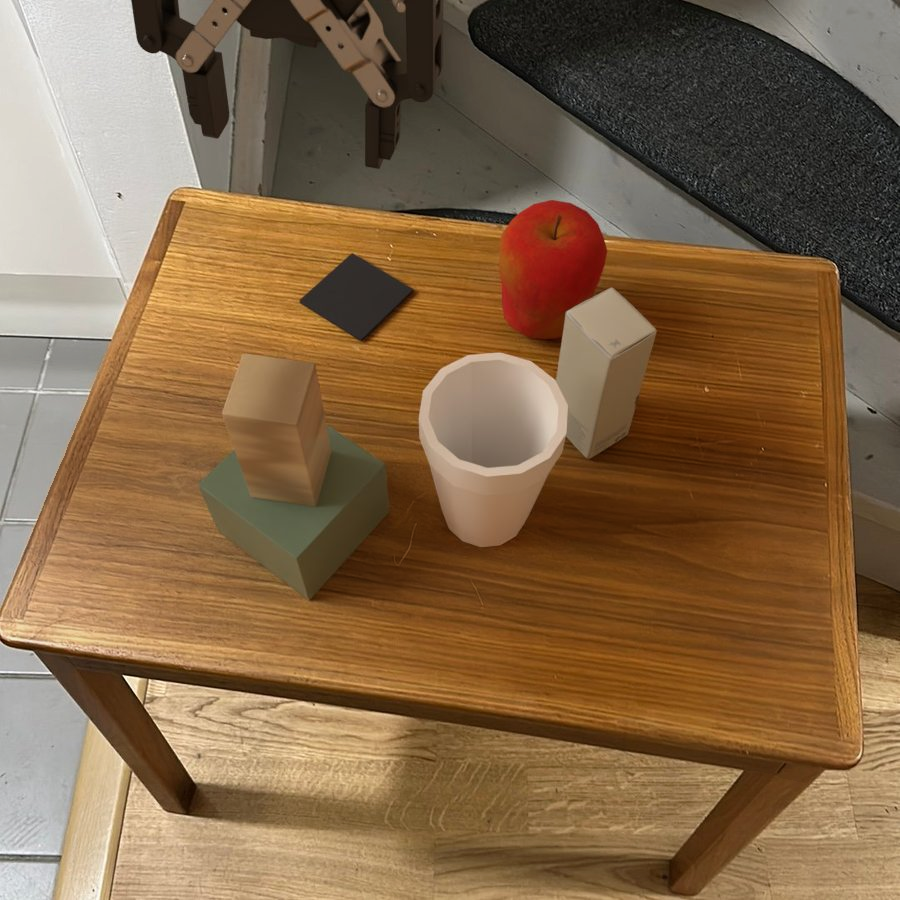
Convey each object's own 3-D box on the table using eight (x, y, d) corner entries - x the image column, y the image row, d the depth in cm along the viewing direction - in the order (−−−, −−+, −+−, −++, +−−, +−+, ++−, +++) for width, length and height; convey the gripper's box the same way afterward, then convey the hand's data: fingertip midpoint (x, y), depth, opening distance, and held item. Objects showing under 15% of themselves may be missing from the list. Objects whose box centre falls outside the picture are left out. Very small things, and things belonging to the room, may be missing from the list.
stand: (217, 531, 68) (196, 484, 62) (300, 449, 72) (287, 397, 66) (309, 601, 65) (296, 558, 59) (389, 511, 69) (385, 463, 63)
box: (629, 436, 73) (663, 332, 62) (585, 462, 71) (613, 361, 60) (587, 390, 75) (613, 283, 64) (544, 415, 74) (563, 310, 63)
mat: (299, 303, 80) (299, 300, 79) (352, 255, 83) (352, 252, 82) (361, 342, 77) (361, 339, 77) (413, 292, 80) (413, 289, 80)
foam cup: (464, 589, 66) (470, 501, 55) (398, 492, 70) (391, 393, 59) (572, 526, 69) (598, 431, 57) (503, 436, 73) (514, 331, 62)
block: (250, 497, 62) (220, 413, 53) (268, 441, 64) (242, 352, 55) (316, 507, 61) (297, 424, 53) (331, 450, 64) (315, 362, 55)
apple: (502, 273, 82) (511, 168, 72) (597, 288, 81) (619, 184, 71) (485, 348, 77) (492, 248, 67) (585, 365, 76) (607, 265, 66)
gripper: (48, -221, 33) (136, 162, 46) (437, -157, 32) (415, 214, 45) (131, -284, 38) (190, 81, 50) (474, -229, 37) (445, 127, 50)
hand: (296, 144), depth 48 cm, fingers open, 8 cm apart
